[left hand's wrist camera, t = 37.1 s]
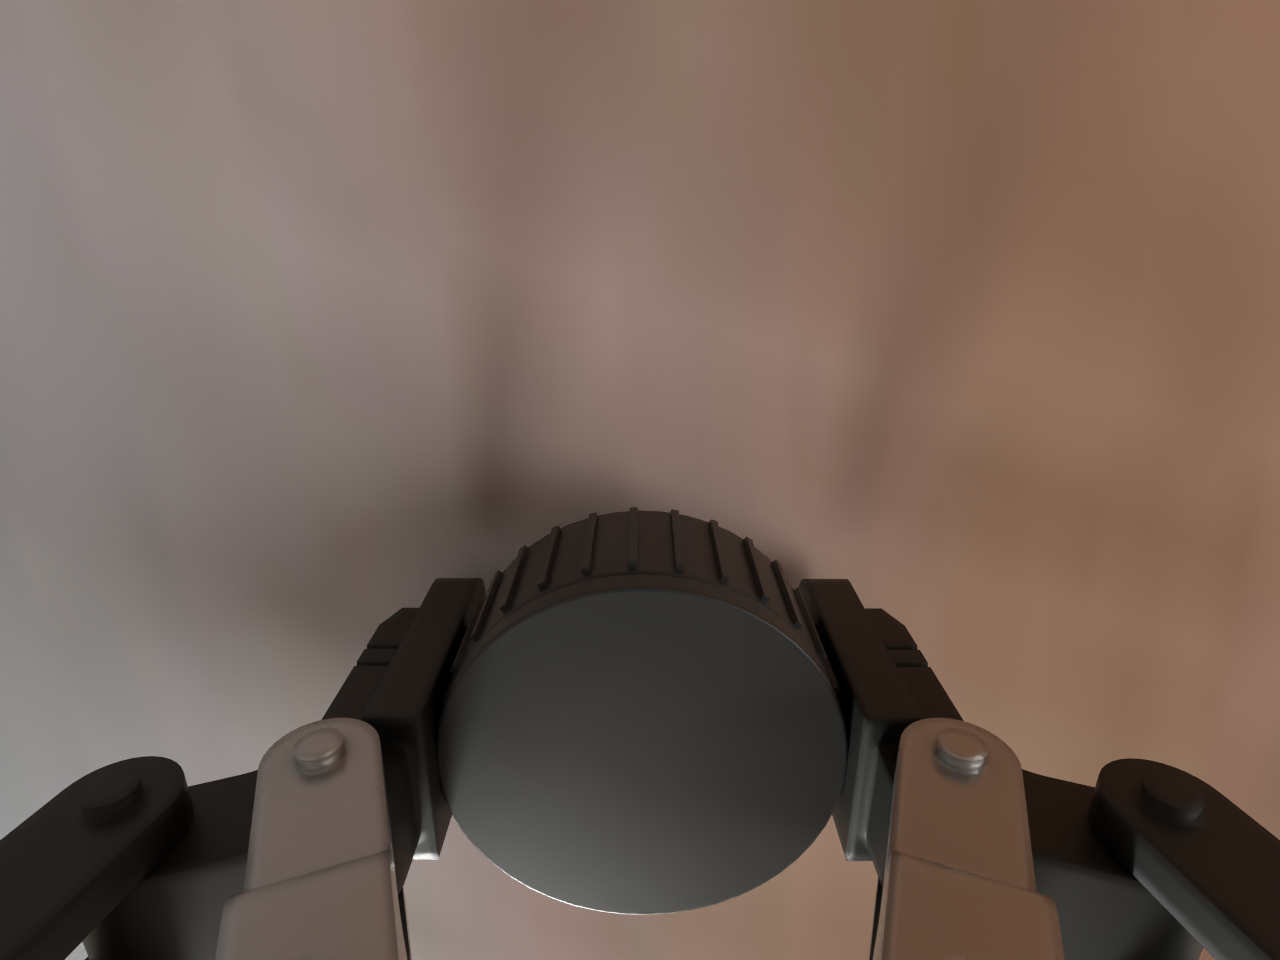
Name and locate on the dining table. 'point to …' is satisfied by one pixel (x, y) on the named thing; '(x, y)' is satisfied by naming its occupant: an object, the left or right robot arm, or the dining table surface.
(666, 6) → the dining table surface
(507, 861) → the lid
